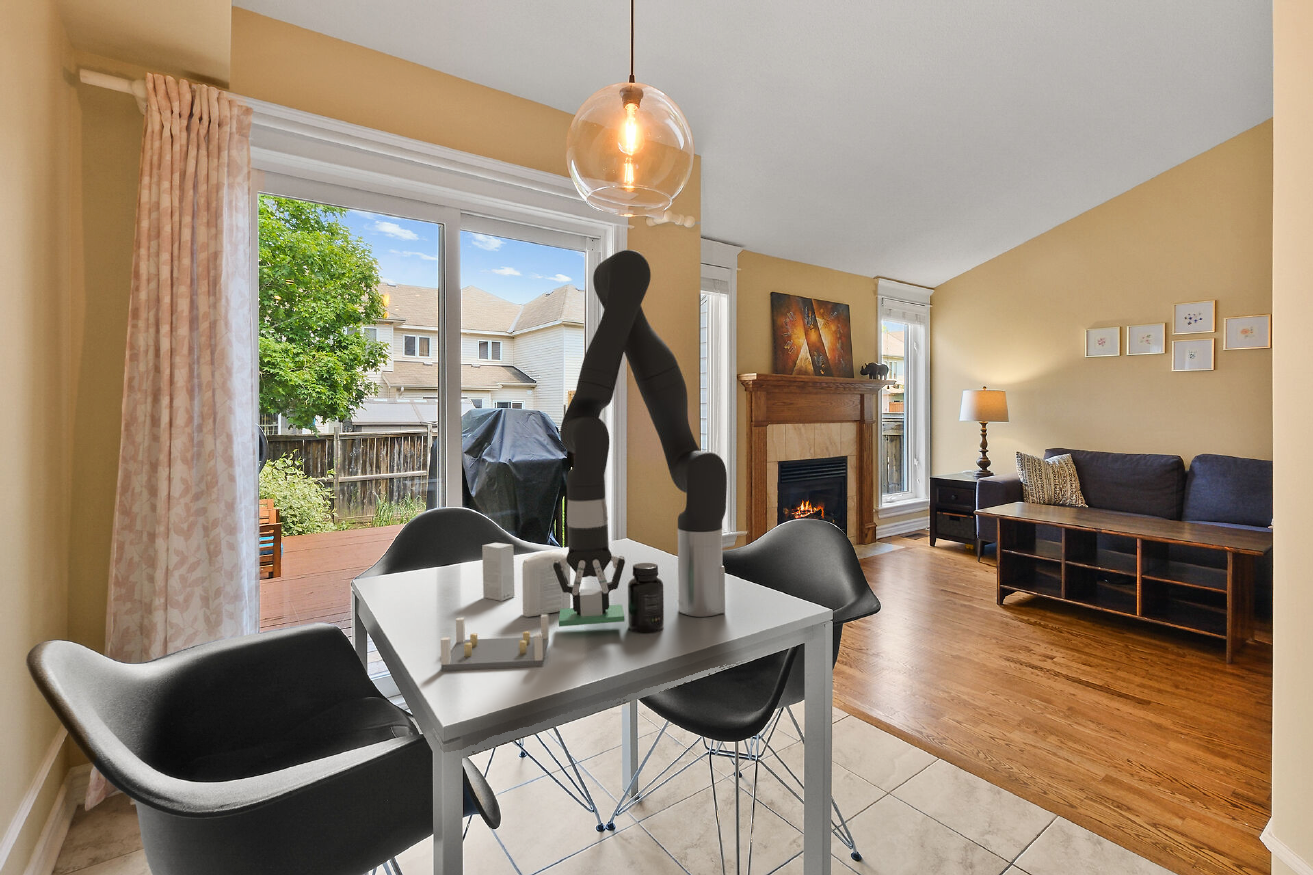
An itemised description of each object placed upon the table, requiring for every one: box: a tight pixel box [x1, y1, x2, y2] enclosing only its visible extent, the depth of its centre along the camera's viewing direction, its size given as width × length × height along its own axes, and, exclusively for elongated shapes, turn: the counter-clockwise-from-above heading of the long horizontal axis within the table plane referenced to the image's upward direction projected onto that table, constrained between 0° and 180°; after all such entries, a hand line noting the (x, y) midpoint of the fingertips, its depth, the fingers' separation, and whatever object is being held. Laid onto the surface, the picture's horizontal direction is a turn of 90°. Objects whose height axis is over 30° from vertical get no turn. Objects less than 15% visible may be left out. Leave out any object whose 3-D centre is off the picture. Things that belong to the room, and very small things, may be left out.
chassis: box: [440, 613, 550, 672], centre depth 103 cm, size 16×11×5 cm
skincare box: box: [481, 542, 516, 602], centre depth 138 cm, size 6×4×12 cm
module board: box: [558, 587, 626, 627], centre depth 115 cm, size 12×7×5 cm, turn 97°
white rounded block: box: [521, 551, 571, 618], centre depth 127 cm, size 10×4×12 cm, turn 123°
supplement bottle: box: [627, 562, 665, 634], centre depth 116 cm, size 7×7×12 cm
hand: (591, 611), depth 115 cm, fingers closed on module board, 4 cm apart
